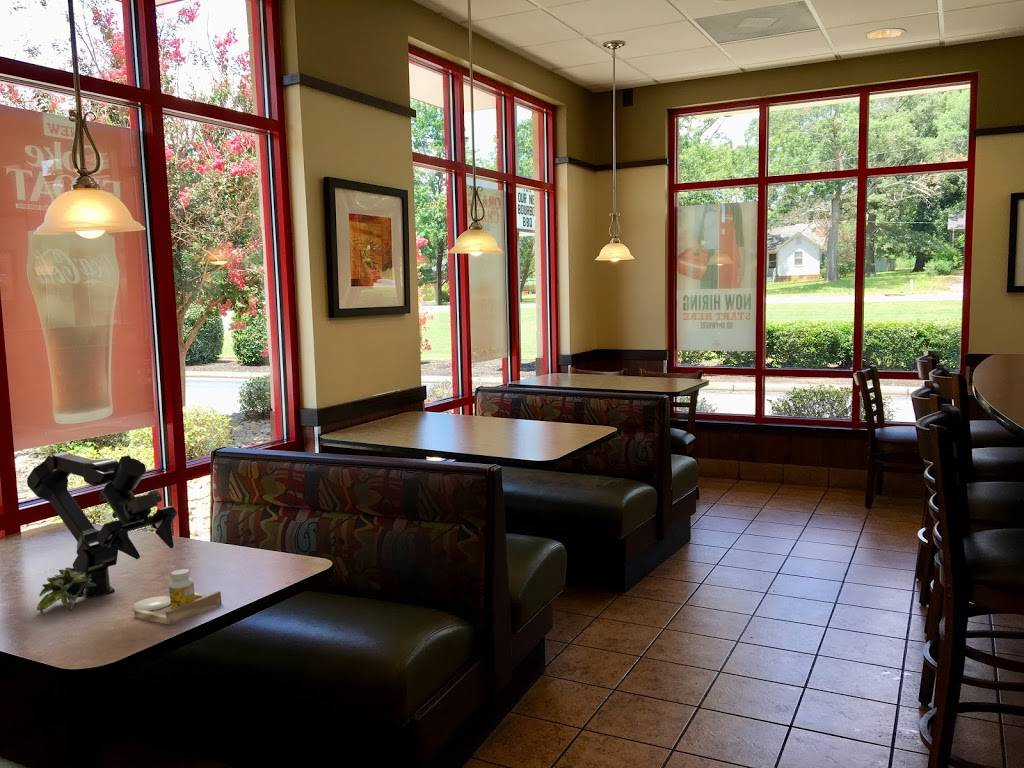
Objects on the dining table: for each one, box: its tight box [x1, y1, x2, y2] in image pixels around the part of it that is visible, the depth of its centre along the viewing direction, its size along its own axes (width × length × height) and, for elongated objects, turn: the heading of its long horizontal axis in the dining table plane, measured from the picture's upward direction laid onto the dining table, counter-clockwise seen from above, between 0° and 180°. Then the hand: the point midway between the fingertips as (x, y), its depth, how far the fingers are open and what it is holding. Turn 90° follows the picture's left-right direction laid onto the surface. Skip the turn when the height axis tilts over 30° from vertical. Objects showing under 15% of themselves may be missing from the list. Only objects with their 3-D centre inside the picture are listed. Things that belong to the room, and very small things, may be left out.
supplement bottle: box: [168, 568, 195, 610], centre depth 192 cm, size 5×5×10 cm
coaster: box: [132, 595, 171, 612], centre depth 198 cm, size 9×9×1 cm
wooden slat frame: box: [133, 590, 222, 626], centre depth 194 cm, size 12×14×3 cm
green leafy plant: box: [36, 567, 96, 613], centre depth 199 cm, size 11×11×12 cm
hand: (156, 552), depth 196 cm, fingers open, 9 cm apart
